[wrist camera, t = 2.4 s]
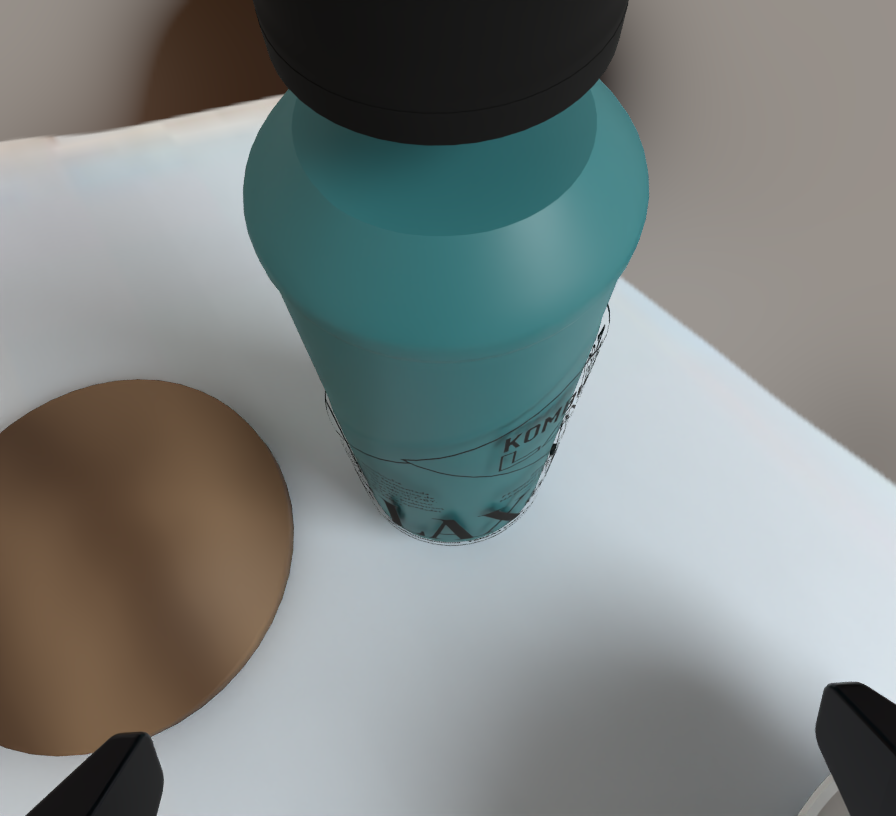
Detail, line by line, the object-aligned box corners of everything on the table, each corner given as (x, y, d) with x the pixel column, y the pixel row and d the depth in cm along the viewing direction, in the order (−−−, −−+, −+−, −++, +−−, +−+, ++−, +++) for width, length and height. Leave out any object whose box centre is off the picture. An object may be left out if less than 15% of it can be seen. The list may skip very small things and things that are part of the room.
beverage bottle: (340, 517, 23) (-150, -77, 5) (411, 368, 25) (275, -426, 7) (505, 585, 22) (726, 165, 4) (563, 423, 24) (882, -341, 6)
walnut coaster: (94, 848, 19) (75, 857, 18) (-139, 585, 22) (-164, 581, 22) (365, 518, 23) (362, 511, 22) (133, 333, 26) (121, 321, 25)
